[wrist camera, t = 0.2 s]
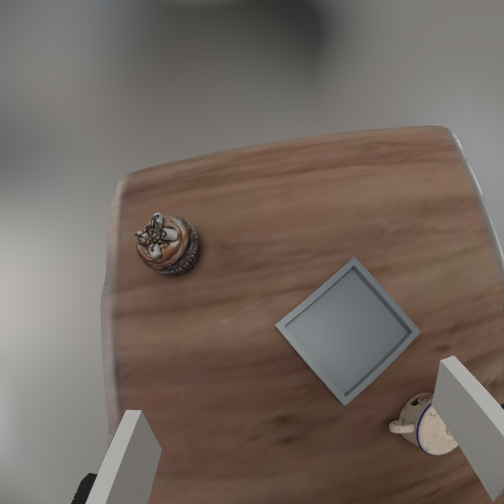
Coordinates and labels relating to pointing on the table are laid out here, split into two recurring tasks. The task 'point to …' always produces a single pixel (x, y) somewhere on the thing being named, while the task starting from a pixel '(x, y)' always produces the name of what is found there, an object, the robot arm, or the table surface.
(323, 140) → the table surface
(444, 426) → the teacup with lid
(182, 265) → the cupcake
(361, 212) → the table surface
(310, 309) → the square tray
